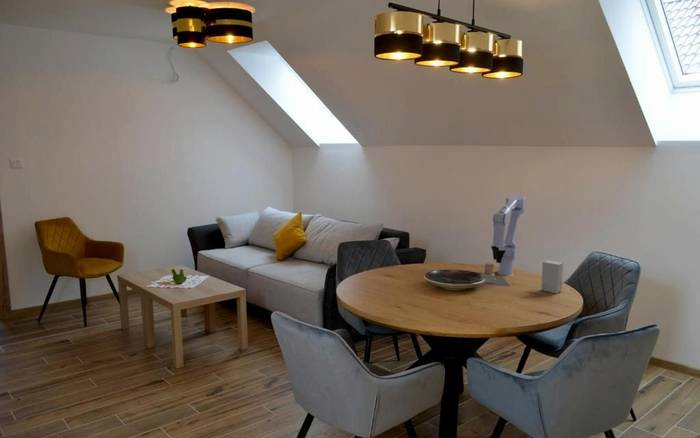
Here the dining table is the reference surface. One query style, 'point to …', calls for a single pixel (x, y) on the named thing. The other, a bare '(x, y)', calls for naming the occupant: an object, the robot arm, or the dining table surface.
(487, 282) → the birch slab
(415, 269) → the dining table surface
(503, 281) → the charcoal mat
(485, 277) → the sage slab
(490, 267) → the rounded pink dome
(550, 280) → the skincare box
